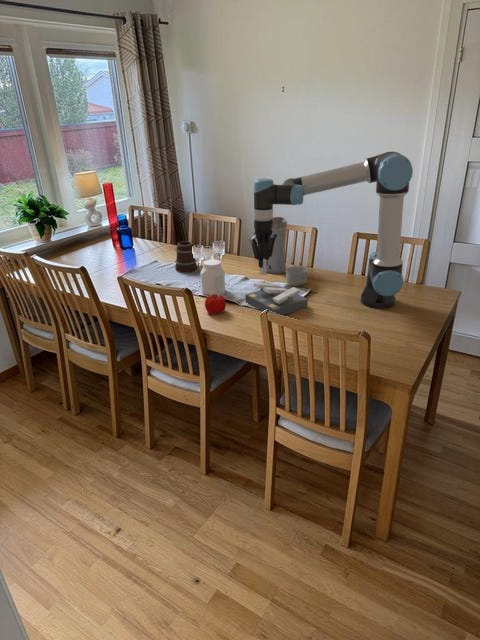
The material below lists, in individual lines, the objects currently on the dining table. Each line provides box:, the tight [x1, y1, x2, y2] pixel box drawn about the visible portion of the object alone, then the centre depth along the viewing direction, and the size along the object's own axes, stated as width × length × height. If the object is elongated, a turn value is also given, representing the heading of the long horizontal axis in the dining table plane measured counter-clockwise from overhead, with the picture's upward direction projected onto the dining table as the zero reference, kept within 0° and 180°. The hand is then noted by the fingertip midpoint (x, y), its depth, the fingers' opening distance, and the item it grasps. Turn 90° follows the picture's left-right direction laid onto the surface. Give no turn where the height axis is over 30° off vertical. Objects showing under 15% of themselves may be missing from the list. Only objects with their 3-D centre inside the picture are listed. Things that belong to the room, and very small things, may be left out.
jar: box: [200, 259, 226, 296], centre depth 211 cm, size 12×10×15 cm
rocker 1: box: [253, 282, 280, 289], centre depth 201 cm, size 4×12×2 cm, turn 125°
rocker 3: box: [273, 286, 301, 304], centre depth 191 cm, size 4×12×2 cm, turn 125°
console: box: [244, 281, 309, 316], centre depth 197 cm, size 21×19×8 cm
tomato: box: [204, 294, 227, 315], centre depth 192 cm, size 9×9×8 cm
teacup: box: [285, 264, 309, 287], centre depth 221 cm, size 14×11×8 cm
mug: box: [174, 240, 198, 273], centre depth 243 cm, size 16×12×15 cm
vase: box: [266, 216, 288, 275], centre depth 234 cm, size 13×14×28 cm
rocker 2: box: [263, 287, 288, 293], centre depth 196 cm, size 4×12×2 cm, turn 125°
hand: (263, 274), depth 188 cm, fingers closed
